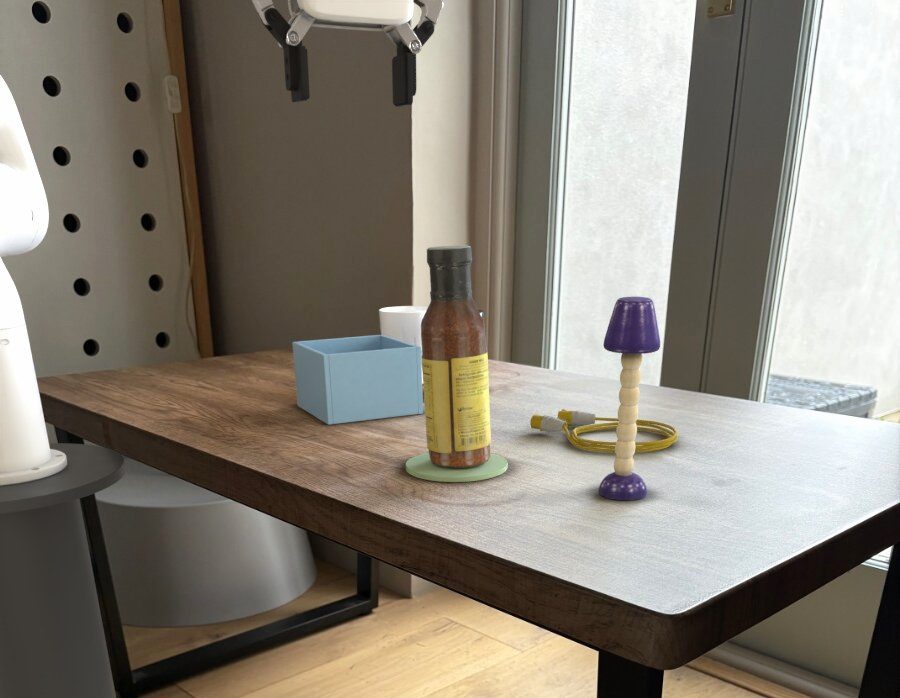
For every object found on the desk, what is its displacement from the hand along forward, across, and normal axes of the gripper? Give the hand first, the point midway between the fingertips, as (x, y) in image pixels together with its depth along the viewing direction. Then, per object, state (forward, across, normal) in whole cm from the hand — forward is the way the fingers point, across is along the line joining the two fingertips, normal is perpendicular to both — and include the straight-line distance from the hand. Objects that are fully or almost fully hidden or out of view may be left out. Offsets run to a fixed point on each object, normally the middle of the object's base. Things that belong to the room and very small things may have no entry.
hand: (352, 103), depth 83 cm
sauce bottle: (+32, +6, -8) cm, 33 cm away
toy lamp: (+32, +16, -23) cm, 42 cm away
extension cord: (+32, +26, -5) cm, 42 cm away
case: (+32, +7, +22) cm, 39 cm away
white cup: (+32, +20, +36) cm, 52 cm away
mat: (+32, +6, -8) cm, 34 cm away
